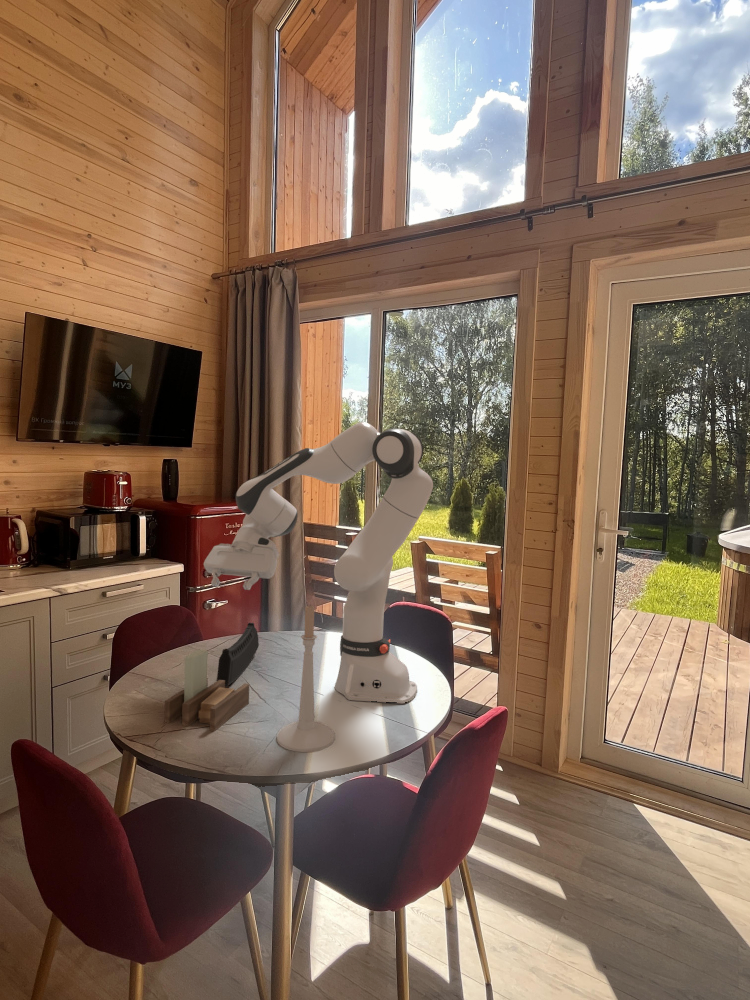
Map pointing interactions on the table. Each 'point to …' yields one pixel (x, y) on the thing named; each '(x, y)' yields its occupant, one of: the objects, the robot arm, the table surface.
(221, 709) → the walnut rack
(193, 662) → the tall panel
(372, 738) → the table surface
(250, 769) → the table surface
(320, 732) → the candlestick
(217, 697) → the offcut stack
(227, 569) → the robot arm
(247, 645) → the magazine
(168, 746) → the table surface
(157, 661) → the table surface
